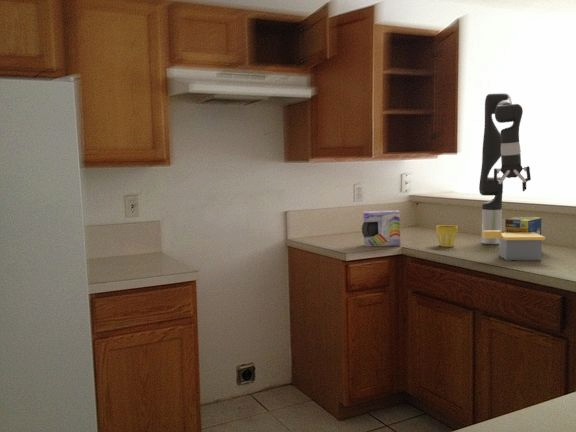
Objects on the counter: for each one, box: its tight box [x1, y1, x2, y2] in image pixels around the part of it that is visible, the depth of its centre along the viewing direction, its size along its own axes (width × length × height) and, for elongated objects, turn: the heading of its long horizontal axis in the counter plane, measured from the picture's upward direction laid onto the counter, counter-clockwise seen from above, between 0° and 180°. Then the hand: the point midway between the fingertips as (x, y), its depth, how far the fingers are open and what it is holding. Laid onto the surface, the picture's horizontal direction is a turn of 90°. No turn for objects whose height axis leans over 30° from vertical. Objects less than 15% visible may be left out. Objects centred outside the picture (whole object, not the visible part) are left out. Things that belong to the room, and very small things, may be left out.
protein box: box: [504, 215, 542, 235], centre depth 251 cm, size 10×15×16 cm
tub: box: [498, 238, 543, 261], centre depth 236 cm, size 12×14×9 cm
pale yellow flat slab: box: [483, 230, 546, 241], centre depth 236 cm, size 14×23×3 cm, turn 83°
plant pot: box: [435, 224, 459, 248], centre depth 273 cm, size 10×10×10 cm
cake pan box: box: [361, 209, 402, 247], centre depth 278 cm, size 19×5×18 cm, turn 82°
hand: (512, 191), depth 232 cm, fingers open, 8 cm apart
